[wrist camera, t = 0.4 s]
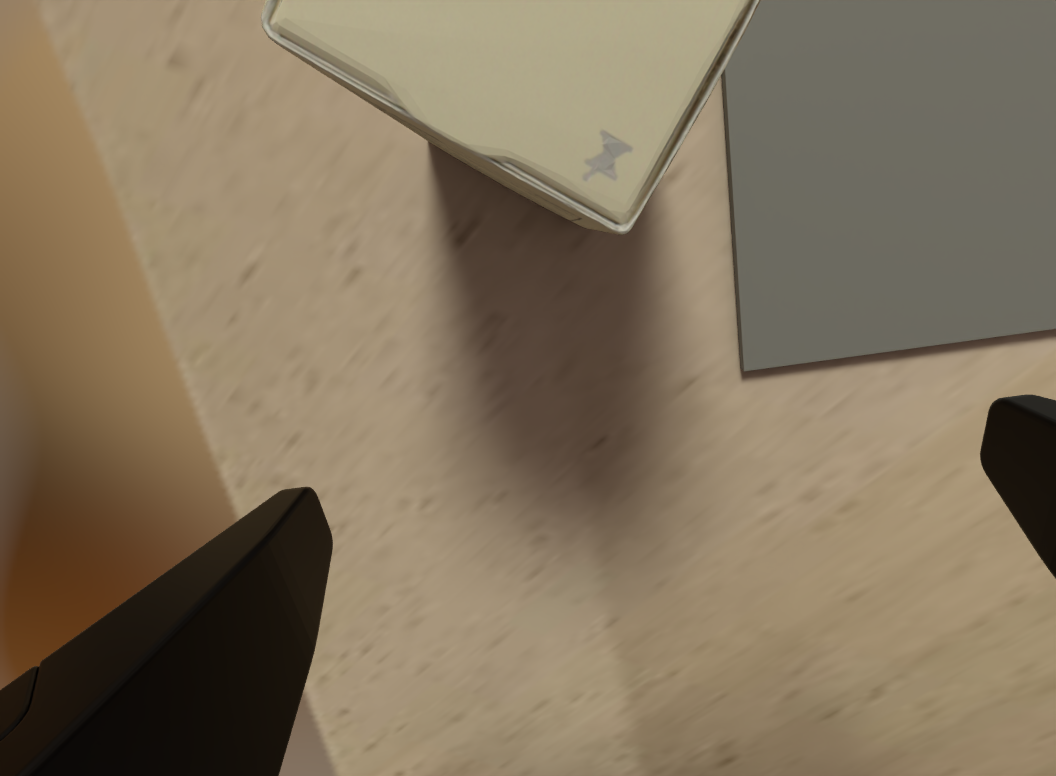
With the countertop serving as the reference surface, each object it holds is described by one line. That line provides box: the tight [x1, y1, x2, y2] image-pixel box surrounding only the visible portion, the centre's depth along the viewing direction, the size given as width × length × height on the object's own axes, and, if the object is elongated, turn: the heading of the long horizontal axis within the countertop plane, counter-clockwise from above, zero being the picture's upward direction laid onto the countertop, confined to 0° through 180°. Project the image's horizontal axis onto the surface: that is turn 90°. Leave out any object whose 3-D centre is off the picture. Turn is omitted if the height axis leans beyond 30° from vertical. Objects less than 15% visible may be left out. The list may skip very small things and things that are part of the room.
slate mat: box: [722, 0, 1056, 371], centre depth 19 cm, size 20×14×1 cm
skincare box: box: [261, 0, 761, 235], centre depth 15 cm, size 6×4×12 cm
